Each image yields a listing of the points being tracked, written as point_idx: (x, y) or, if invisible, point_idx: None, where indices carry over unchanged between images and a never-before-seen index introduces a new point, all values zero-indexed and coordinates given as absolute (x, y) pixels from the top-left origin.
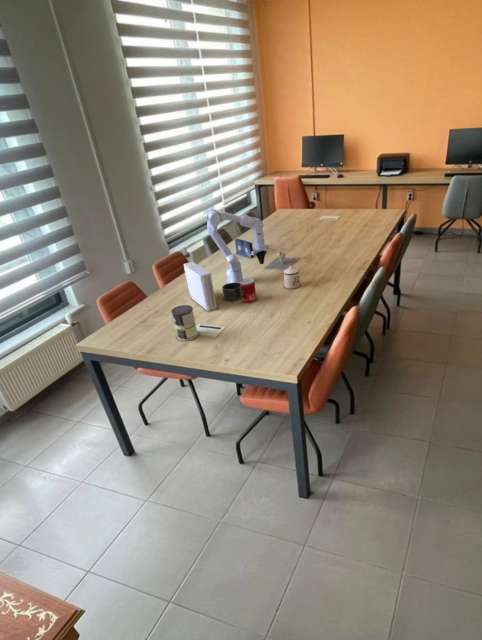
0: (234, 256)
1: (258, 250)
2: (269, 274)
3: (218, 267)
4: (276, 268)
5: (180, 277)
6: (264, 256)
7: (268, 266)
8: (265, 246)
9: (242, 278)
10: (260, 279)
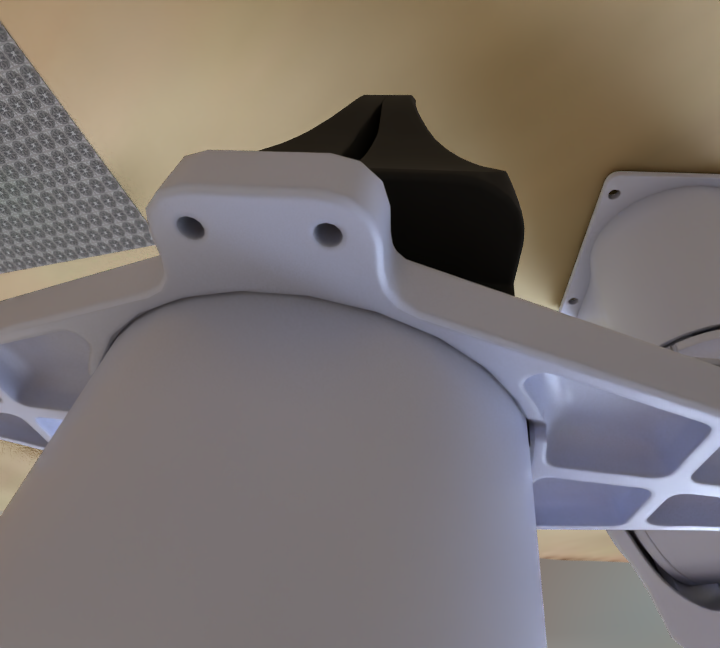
0: (641, 567)
1: (646, 386)
2: (244, 62)
3: None
4: (65, 119)
5: (574, 553)
6: (303, 143)
7: (111, 238)
8: (23, 380)
9: (669, 226)
10: (453, 53)
